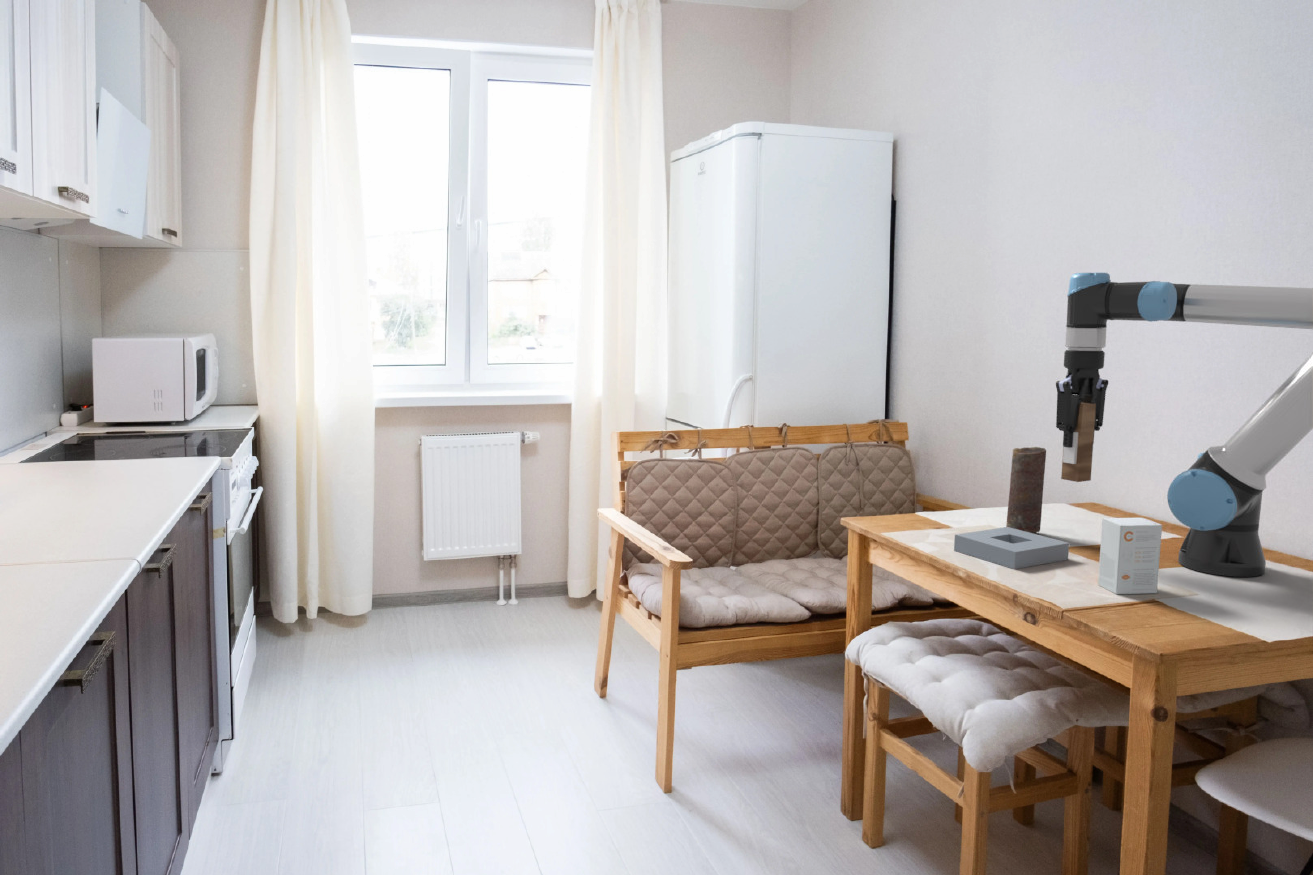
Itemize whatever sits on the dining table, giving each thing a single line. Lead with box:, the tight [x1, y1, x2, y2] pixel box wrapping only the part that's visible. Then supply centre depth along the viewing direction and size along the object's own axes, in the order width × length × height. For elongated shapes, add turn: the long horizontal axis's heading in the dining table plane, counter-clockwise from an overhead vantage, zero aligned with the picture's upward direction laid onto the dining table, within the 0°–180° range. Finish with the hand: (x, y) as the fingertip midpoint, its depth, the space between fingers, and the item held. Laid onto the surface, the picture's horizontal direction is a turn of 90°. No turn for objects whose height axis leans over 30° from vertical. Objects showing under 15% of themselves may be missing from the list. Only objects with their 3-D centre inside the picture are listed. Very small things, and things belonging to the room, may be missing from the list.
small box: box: [1097, 517, 1163, 595], centre depth 174 cm, size 8×6×13 cm
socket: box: [953, 526, 1070, 570], centre depth 198 cm, size 16×16×4 cm
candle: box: [1005, 446, 1047, 534], centre depth 216 cm, size 8×7×20 cm
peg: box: [1060, 402, 1096, 483], centre depth 195 cm, size 4×4×16 cm
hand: (1077, 461), depth 196 cm, fingers closed on peg, 4 cm apart
